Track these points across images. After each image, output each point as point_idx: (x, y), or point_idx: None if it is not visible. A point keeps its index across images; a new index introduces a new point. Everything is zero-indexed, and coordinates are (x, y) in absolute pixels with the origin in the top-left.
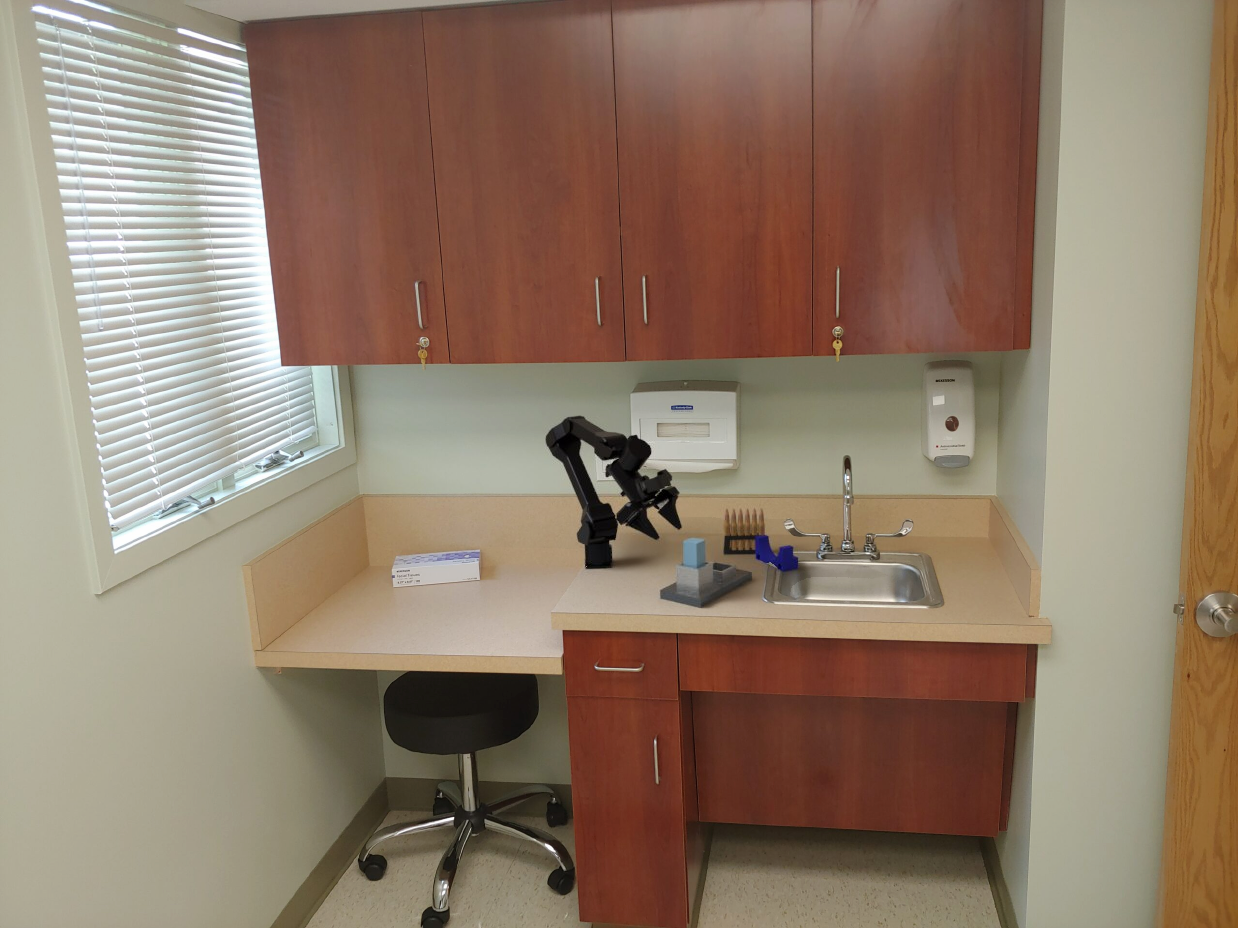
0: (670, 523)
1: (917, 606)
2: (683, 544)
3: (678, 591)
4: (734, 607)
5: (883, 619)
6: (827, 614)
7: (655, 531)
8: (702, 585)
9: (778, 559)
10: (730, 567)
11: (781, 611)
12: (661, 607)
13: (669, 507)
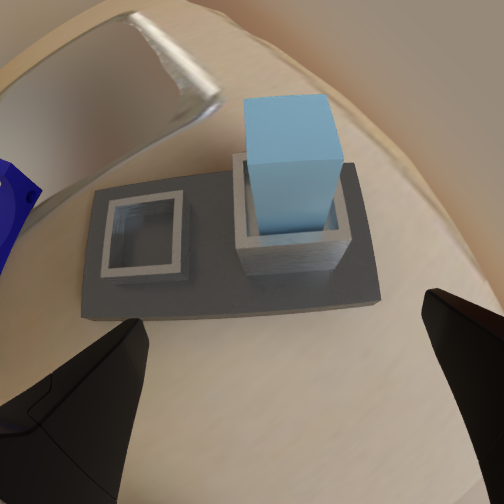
0: (133, 420)
1: (135, 16)
2: (340, 167)
3: (352, 245)
4: None
5: (195, 8)
6: (217, 35)
7: (462, 305)
8: None
9: (20, 193)
10: (131, 201)
11: (249, 68)
12: (417, 254)
13: (42, 461)
